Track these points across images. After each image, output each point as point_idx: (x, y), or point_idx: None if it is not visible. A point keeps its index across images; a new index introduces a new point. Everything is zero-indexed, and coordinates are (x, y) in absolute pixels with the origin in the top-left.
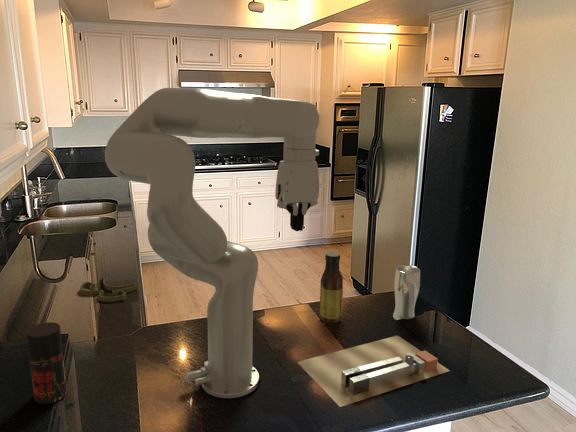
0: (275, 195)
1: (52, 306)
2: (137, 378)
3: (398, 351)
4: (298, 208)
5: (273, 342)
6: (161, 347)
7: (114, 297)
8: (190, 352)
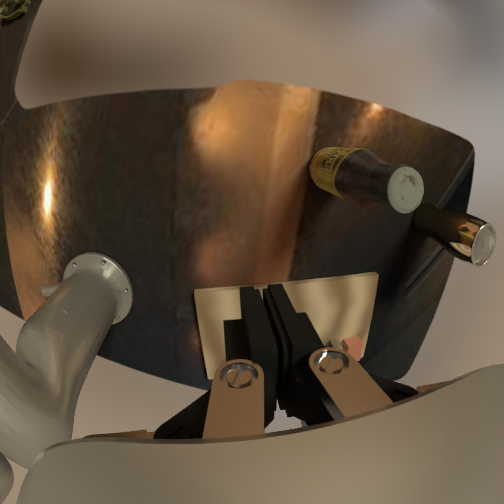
0: (26, 485)
1: None
2: (7, 240)
3: (347, 311)
4: (321, 391)
5: (184, 208)
6: (26, 170)
7: (11, 16)
8: (56, 196)
